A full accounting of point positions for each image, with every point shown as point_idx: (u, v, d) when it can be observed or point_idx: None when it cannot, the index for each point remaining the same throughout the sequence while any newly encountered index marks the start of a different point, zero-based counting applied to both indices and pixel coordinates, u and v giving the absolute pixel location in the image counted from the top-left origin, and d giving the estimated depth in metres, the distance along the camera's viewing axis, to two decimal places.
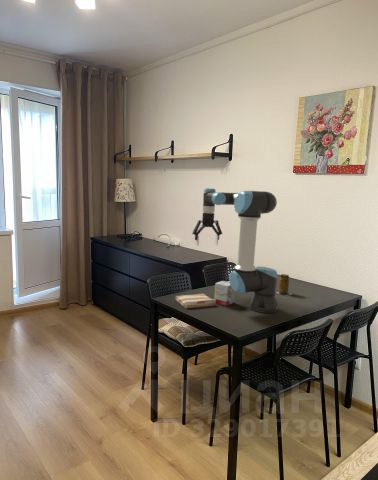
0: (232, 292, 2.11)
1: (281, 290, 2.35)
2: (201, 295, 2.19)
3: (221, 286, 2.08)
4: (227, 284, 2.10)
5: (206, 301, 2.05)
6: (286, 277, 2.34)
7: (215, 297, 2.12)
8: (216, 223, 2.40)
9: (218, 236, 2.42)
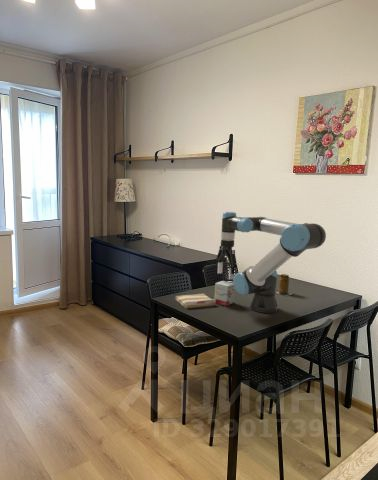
0: (232, 292, 2.11)
1: (281, 290, 2.35)
2: (201, 295, 2.19)
3: (221, 286, 2.08)
4: (227, 284, 2.10)
5: (206, 301, 2.05)
6: (286, 277, 2.34)
7: (215, 297, 2.12)
8: None
9: (231, 269, 2.03)
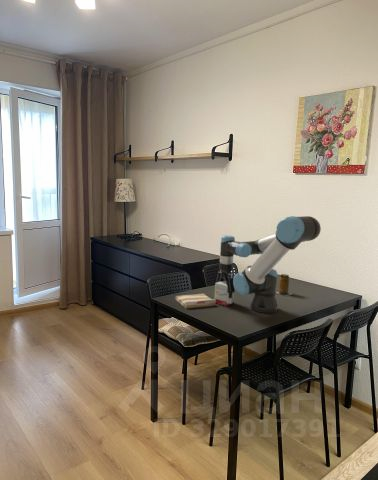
0: (232, 292, 2.11)
1: (281, 290, 2.35)
2: (201, 295, 2.19)
3: (221, 286, 2.08)
4: None
5: (206, 301, 2.05)
6: (286, 277, 2.34)
7: (215, 297, 2.12)
8: (229, 277, 2.06)
9: (229, 293, 2.06)
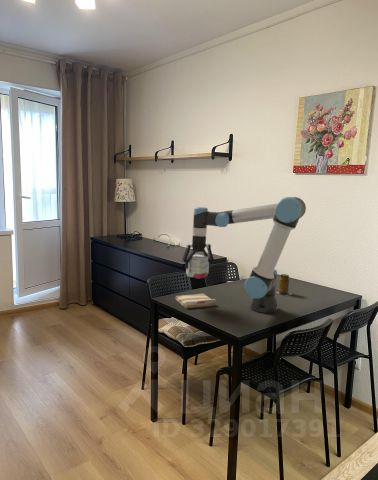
0: None
1: (281, 290, 2.35)
2: (201, 295, 2.19)
3: (204, 259, 2.05)
4: (202, 255, 2.08)
5: (206, 301, 2.05)
6: (286, 277, 2.34)
7: (200, 272, 2.03)
8: (208, 247, 2.08)
9: (209, 263, 2.10)
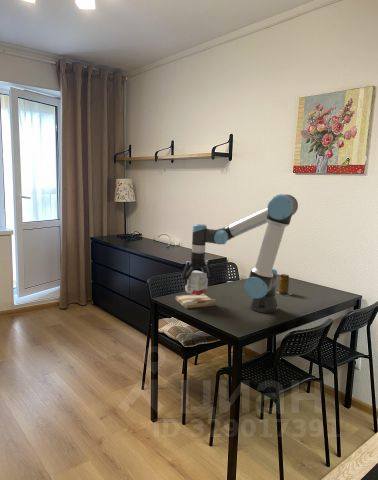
0: None
1: (281, 290, 2.35)
2: (201, 295, 2.19)
3: (203, 275, 2.06)
4: (201, 272, 2.09)
5: (206, 301, 2.05)
6: (286, 277, 2.34)
7: (199, 289, 2.04)
8: (207, 264, 2.09)
9: (208, 279, 2.11)
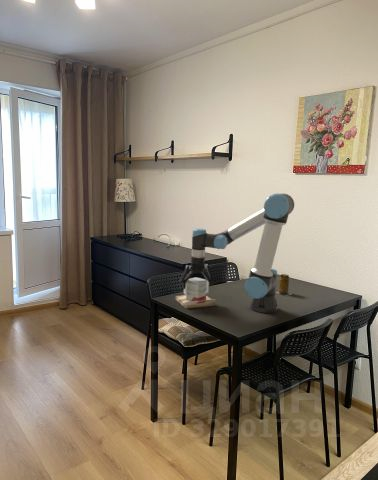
0: None
1: (281, 290, 2.35)
2: None
3: (203, 282, 2.07)
4: (201, 279, 2.10)
5: (206, 301, 2.05)
6: (286, 277, 2.34)
7: (199, 296, 2.05)
8: (207, 268, 2.09)
9: (209, 282, 2.12)
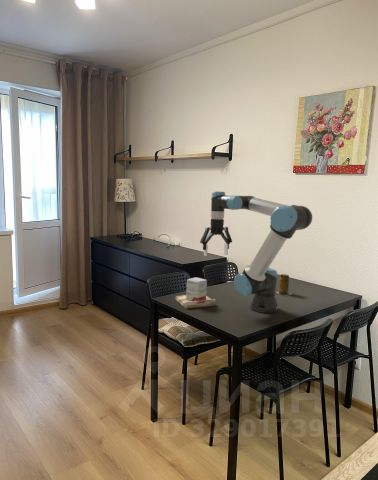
0: None
1: (281, 290, 2.35)
2: None
3: (203, 282, 2.07)
4: (201, 279, 2.10)
5: (206, 301, 2.05)
6: (286, 277, 2.34)
7: (199, 296, 2.05)
8: (226, 230, 2.15)
9: (228, 244, 2.17)
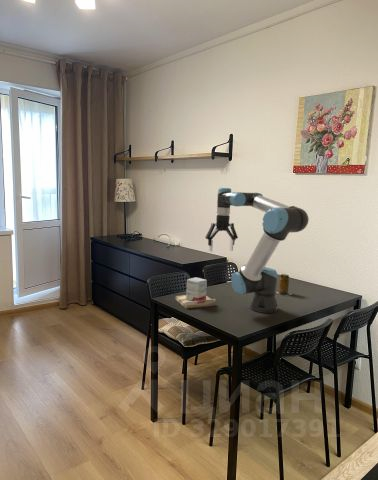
0: None
1: (281, 290, 2.35)
2: None
3: (203, 282, 2.07)
4: (201, 279, 2.10)
5: (206, 301, 2.05)
6: (286, 277, 2.34)
7: (199, 296, 2.05)
8: (231, 226, 2.17)
9: (233, 241, 2.19)
